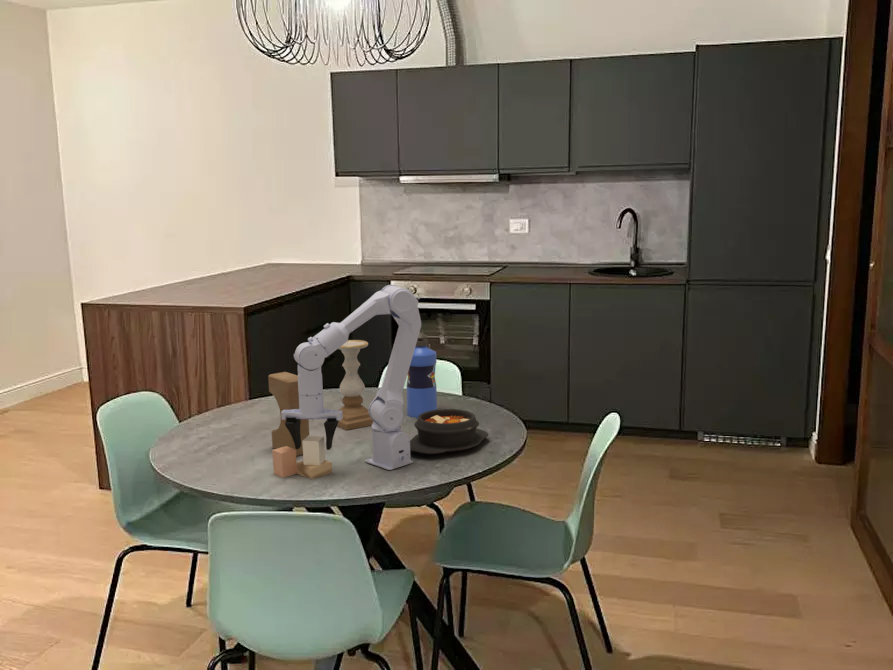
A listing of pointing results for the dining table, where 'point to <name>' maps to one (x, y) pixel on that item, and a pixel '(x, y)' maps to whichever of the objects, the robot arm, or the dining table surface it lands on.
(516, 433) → the dining table surface
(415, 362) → the water bottle
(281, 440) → the decorative block
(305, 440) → the cream cube
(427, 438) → the casserole
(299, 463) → the oak block
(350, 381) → the candle holder
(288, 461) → the terracotta cube
